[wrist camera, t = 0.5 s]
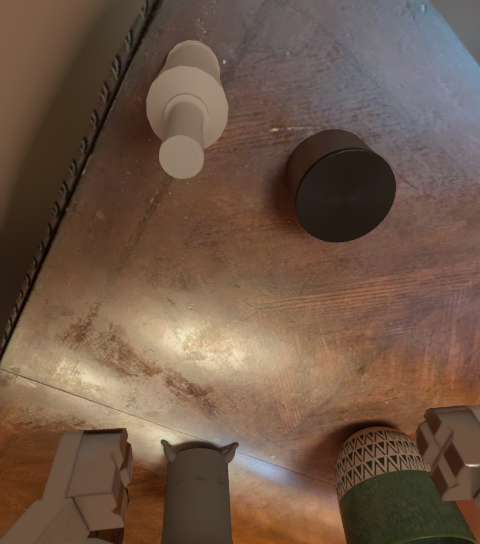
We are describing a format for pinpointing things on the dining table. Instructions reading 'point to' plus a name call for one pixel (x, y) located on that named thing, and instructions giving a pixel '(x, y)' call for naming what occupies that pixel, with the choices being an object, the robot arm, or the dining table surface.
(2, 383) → the dining table surface
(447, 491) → the robot arm
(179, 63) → the bottle
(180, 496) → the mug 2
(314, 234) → the canister
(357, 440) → the planter
